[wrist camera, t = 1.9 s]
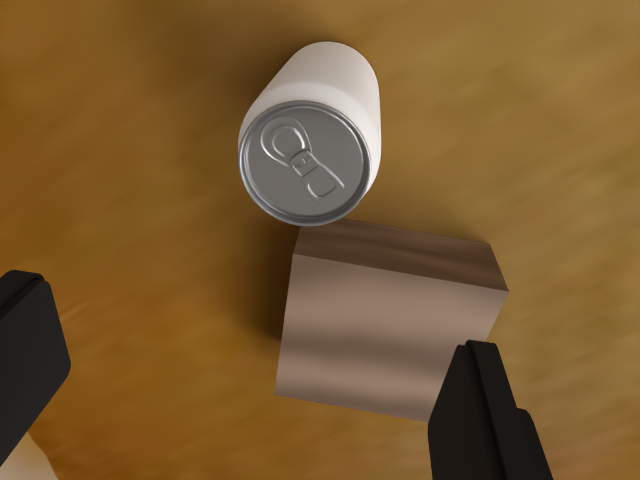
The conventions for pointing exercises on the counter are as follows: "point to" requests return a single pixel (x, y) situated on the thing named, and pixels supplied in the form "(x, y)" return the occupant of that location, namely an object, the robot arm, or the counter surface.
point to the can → (313, 137)
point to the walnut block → (382, 315)
